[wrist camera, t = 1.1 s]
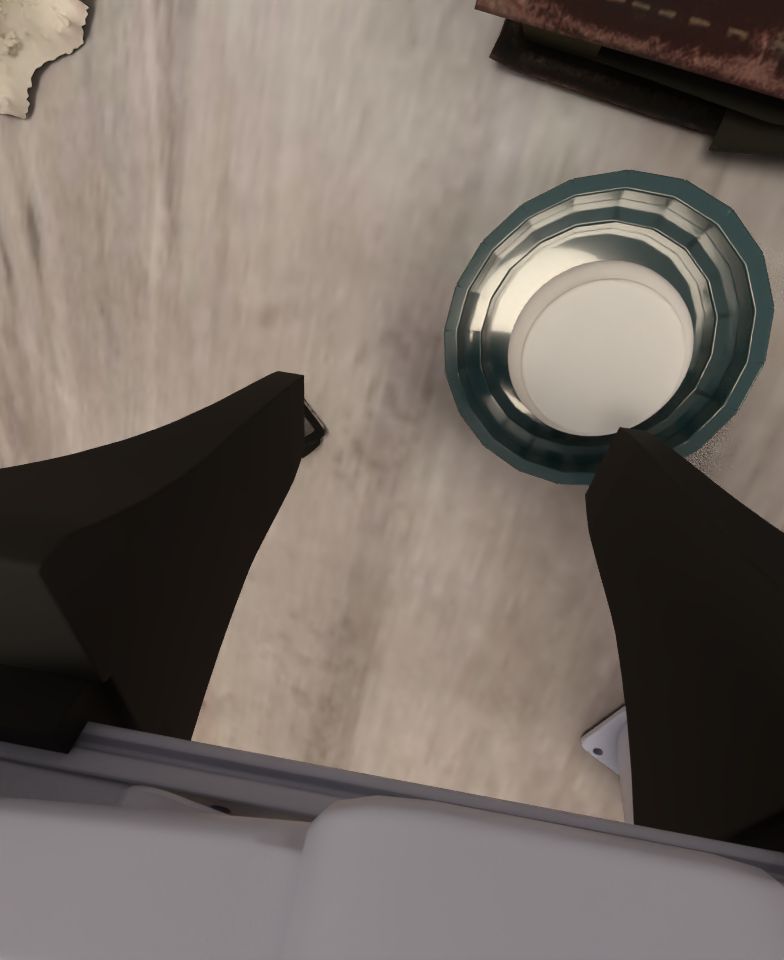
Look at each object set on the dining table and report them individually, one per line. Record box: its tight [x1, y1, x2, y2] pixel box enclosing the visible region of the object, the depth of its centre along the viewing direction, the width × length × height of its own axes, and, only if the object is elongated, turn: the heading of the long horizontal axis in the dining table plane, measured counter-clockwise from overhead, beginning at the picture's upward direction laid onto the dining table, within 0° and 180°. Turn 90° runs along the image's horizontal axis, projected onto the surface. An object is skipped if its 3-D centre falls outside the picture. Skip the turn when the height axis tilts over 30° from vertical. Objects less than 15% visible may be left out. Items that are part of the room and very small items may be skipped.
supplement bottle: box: [508, 260, 694, 436], centre depth 16 cm, size 5×5×10 cm
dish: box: [444, 170, 774, 485], centre depth 20 cm, size 12×12×3 cm
